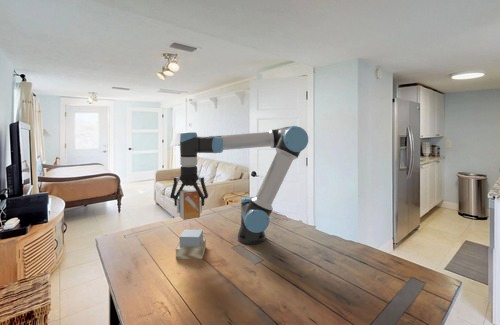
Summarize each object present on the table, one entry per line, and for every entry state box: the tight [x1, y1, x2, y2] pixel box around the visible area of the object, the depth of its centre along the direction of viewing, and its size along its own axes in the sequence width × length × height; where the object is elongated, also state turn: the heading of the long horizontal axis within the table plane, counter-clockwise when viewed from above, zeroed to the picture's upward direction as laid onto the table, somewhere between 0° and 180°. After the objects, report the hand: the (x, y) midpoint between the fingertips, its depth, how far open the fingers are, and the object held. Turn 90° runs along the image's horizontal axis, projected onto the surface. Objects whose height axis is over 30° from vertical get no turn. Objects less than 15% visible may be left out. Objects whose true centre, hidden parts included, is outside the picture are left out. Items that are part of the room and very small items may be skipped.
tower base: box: [175, 237, 207, 260], centre depth 123 cm, size 12×12×5 cm
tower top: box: [179, 229, 204, 247], centre depth 123 cm, size 9×9×5 cm
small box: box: [178, 187, 201, 221], centre depth 120 cm, size 8×6×13 cm
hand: (189, 212), depth 121 cm, fingers closed on small box, 10 cm apart
